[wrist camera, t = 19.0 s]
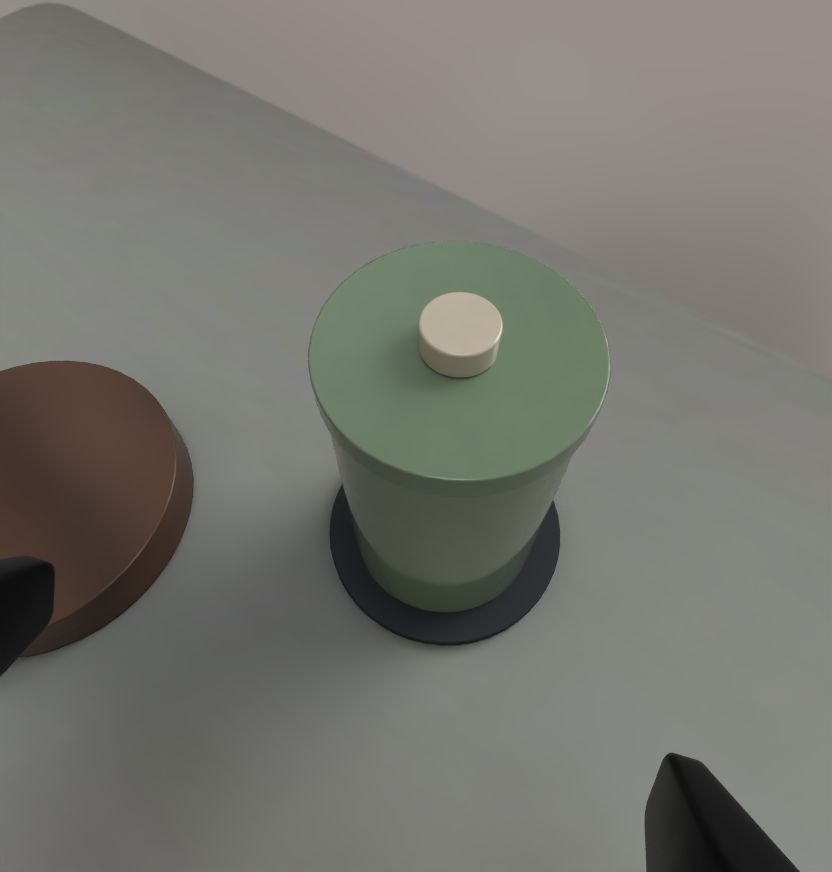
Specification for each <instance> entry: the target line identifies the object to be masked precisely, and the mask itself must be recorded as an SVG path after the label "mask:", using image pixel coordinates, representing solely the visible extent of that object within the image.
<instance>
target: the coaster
mask: <svg viewBox="0 0 832 872" xmlns="http://www.w3.org/2000/svg"><path fill="white" fill-rule="evenodd" d="M330 544H331V551H332V556H333V560H334V564H335V567H336V569H337V572H338V574H339V577H340V580H341V581H342V583H343V585H344V587H345V589H346V590H347V592H348V594H349V595H350V596H351V598H352V599H353V600H354V602H355V603H356V604H357V605H358V606H359V607H360V608H361V609H362V610H363V611H364V612H365V613H366V614H367V615H368V616H369V617H370V618H371V619H373V620H374V621H375V622H377V623H378V624H379V625H381V626H382V627H384V628H386V629H388V630H389V631H391V632H393V633H395V634H397V635H400V636H402V637H405V638H407V639H410V640H414V641H418V642H422V643H427V644H436V645H459V644H466V643H472V642H476V641H479V640H483V639H486V638H489V637H491V636H494V635H496V634H498V633H500V632H502V631H504V630H506V629H507V628H509V627H510V626H512V625H514V624H515V623H517V622H518V621H519V620H520V619H521V618H522V617H524V616H525V615H526V614H527V613H528V612H529V611H530V610H531V609H532V608H533V606H534V605H535V604H536V603H537V602H538V601H539V599H540V597H541V596H542V594H543V593H544V591H545V590H546V588H547V586H548V584H549V582H550V580H551V578H552V575H553V573H554V570H555V567H556V563H557V560H558V554H559V547H560V528H559V521H558V515H557V511H556V508H555V504H554V502H553V501H552V503H551V505H550V508H549V510H548V512H547V514H546V517H545V519H544V521H543V524H542V526H541V528H540V530H539V533H538V535H537V537H536V540H535V542H534V544H533V546H532V549H531V551H530V553H529V555H528V558H527V560H526V562H525V565H524V566H523V568H522V570H521V572H520V574H519V575H518V576H517V578H516V579H515V580H514V582H513V583H512V584H511V585H510V586H509V587H508V588H507V589H506V590H505V591H504V592H503V593H501V594H500V595H498V596H497V597H496V598H494V599H493V600H491V601H489V602H487V603H485V604H483V605H481V606H478V607H475V608H473V609H469V610H464V611H459V612H448V613H447V612H432V611H427V610H422V609H419V608H416V607H412V606H410V605H408V604H406V603H403V602H401V601H399V600H398V599H396V598H395V597H393V596H392V595H390V594H389V593H388V592H386V591H385V590H384V589H383V588H382V587H381V586H380V585H379V584H378V583H377V582H376V581H375V580H374V579H373V577H372V576H371V574H370V573H369V571H368V570H367V568H366V566H365V564H364V562H363V560H362V558H361V555H360V552H359V549H358V546H357V542H356V537H355V533H354V529H353V525H352V521H351V517H350V512H349V508H348V504H347V500H346V496H345V492H344V487H343V484H342V486H341V488H340V490H339V492H338V494H337V497H336V500H335V503H334V506H333V510H332V515H331V520H330Z"/></svg>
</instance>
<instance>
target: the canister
mask: <svg viewBox="0 0 832 872" xmlns="http://www.w3.org/2000/svg"><path fill="white" fill-rule="evenodd" d="M610 364H611V360H610V353H609V346H608V342H607V338H606V335H605V332H604V329H603V326H602V324H601V322H600V320H599V318H598V316H597V314H596V312H595V311H594V310H593V308H592V307H591V305H590V304H589V302H588V301H587V299H586V298H585V297H584V296H583V295H582V294H581V293H580V291H579V290H578V289H577V288H576V287H575V286H574V285H572V284H571V283H570V282H569V281H568V280H567V279H566V278H565V277H563V276H562V275H560V274H559V273H558V272H556V271H555V270H553V269H552V268H550V267H549V266H547V265H545V264H543V263H541V262H540V261H538V260H536V259H534V258H532V257H529V256H527V255H524V254H522V253H520V252H517V251H514V250H510V249H507V248H504V247H500V246H495V245H491V244H486V243H477V242H469V241H443V242H431V243H425V244H419V245H414V246H411V247H407V248H403V249H399V250H397V251H394V252H391V253H389V254H386V255H384V256H382V257H379V258H377V259H375V260H373V261H371V262H369V263H368V264H366V265H365V266H363V267H362V268H360V269H359V270H357V271H355V272H354V273H353V274H352V275H351V276H349V277H348V278H347V279H346V280H345V281H343V282H342V283H341V285H340V286H339V287H338V288H337V289H336V290H335V291H334V292H333V293H332V294H331V296H330V297H329V299H328V300H327V301H326V303H325V304H324V306H323V307H322V309H321V311H320V313H319V315H318V317H317V319H316V322H315V325H314V328H313V331H312V334H311V338H310V344H309V350H308V367H309V373H310V379H311V384H312V388H313V392H314V396H315V400H316V403H317V406H318V409H319V412H320V415H321V417H322V419H323V421H324V423H325V425H326V426H327V428H328V430H329V432H330V433H331V438H332V442H333V446H334V450H335V454H336V458H337V462H338V467H339V471H340V475H341V479H342V483H343V487H344V492H345V496H346V500H347V504H348V508H349V512H350V517H351V521H352V525H353V529H354V533H355V537H356V542H357V546H358V549H359V552H360V555H361V558H362V560H363V562H364V564H365V566H366V568H367V570H368V571H369V573H370V574H371V576H372V577H373V579H374V580H375V581H376V582H377V583H378V584H379V585H380V586H381V587H382V588H383V589H384V590H385V591H386V592H388V593H389V594H390V595H392V596H393V597H395V598H396V599H398V600H399V601H401V602H403V603H406V604H408V605H410V606H412V607H416V608H419V609H422V610H427V611H432V612H447V613H448V612H459V611H464V610H469V609H473V608H475V607H478V606H481V605H483V604H485V603H487V602H489V601H491V600H493V599H494V598H496V597H497V596H498V595H500V594H501V593H503V592H504V591H505V590H506V589H507V588H508V587H509V586H510V585H511V584H512V583H513V582H514V580H515V579H516V578H517V576H518V575H519V574H520V572H521V570H522V568H523V566H524V565H525V562H526V560H527V558H528V555H529V553H530V551H531V549H532V546H533V544H534V542H535V540H536V537H537V535H538V533H539V530H540V528H541V526H542V524H543V521H544V519H545V517H546V514H547V512H548V510H549V508H550V505H551V503H552V501H553V498H554V496H555V494H556V492H557V489H558V487H559V485H560V482H561V480H562V478H563V476H564V473H565V471H566V469H567V467H568V464H569V462H570V460H571V457H572V455H573V454H574V453H575V451H576V450H577V449H578V448H579V446H580V445H581V444H582V443H583V441H584V440H585V439H586V437H587V435H588V433H589V432H590V430H591V428H592V426H593V425H594V423H595V420H596V418H597V416H598V414H599V412H600V409H601V407H602V404H603V402H604V399H605V396H606V394H607V390H608V385H609V380H610Z"/></svg>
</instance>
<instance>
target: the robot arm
mask: <svg viewBox="0 0 832 872" xmlns="http://www.w3.org/2000/svg"><path fill="white" fill-rule="evenodd" d="M54 594H55V568H54V566H53V565H52V564H51V563H50V562H48V561H45V560H41V559H38V558H35V557H31V556H18V557H12V558H5V559H0V677H1V676H2V674H3V673H4V672H5V671H6V670H7V669H8V668H9V667H10V666H11V665H12V664H13V663H14V662H15V660H16V659H17V658H18V657H19V656H20V655H21V654H22V653H23V652H24V651H25V650H26V649H27V648H28V647H29V645H30V644H31V643H32V642H33V641H34V640H35V639H36V638H37V637H38V636H39V635H40V634H41V633H42V632H43V630H44V629H45V628H46V627H47V625H48V624H49V622H50V620H51V618H52V615H53V611H54ZM645 844H646V871H647V872H800V871H799V870H798V869H797V868H796V867H795V866H794V865H793V863H792V862H791V861H790V860H789V859H788V858H787V857H786V856H785V855H784V853H783V852H782V851H781V850H780V849H779V848H778V847H777V846H776V844H775V843H774V842H773V841H772V840H771V839H770V838H769V837H768V836H767V834H766V833H765V832H764V831H763V830H762V829H761V828H760V827H759V825H758V824H757V823H756V822H755V821H754V820H753V819H752V818H751V816H750V815H749V814H748V813H747V812H746V811H745V810H744V809H743V808H742V806H741V805H740V804H739V803H738V802H737V801H736V800H735V799H734V797H733V796H732V795H731V794H730V793H729V792H728V791H727V790H726V789H725V787H724V786H723V785H722V784H721V783H720V782H719V781H718V780H717V778H716V777H715V776H714V775H713V774H712V773H711V772H710V771H709V770H708V768H707V767H706V766H705V765H704V764H703V763H702V762H700V761H698V760H695V759H692V758H689V757H685V756H682V755H679V754H675V753H669V754H667V755H666V756H665V757H664V759H663V761H662V763H661V766H660V769H659V771H658V774H657V777H656V779H655V782H654V785H653V787H652V790H651V793H650V795H649V798H648V801H647V805H646V810H645Z"/></svg>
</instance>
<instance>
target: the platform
mask: <svg viewBox="0 0 832 872" xmlns="http://www.w3.org/2000/svg"><path fill="white" fill-rule="evenodd" d="M192 497H193V474H192V465H191V461H190V457H189V454H188V450H187V448H186V446H185V444H184V441H183V439H182V437H181V435H180V434H179V432H178V431H177V429H176V428H175V426H174V425H173V423H172V421H171V420H170V418H169V417H168V415H167V414H166V412H165V411H164V409H163V408H162V406H161V405H160V404H159V402H158V401H157V399H156V398H155V397H154V396H153V395H152V394H151V393H150V392H149V391H148V390H147V389H146V388H145V387H143V386H142V385H141V384H139V383H138V382H137V381H135V380H134V379H132V378H130V377H128V376H126V375H124V374H122V373H121V372H119V371H116V370H113V369H110V368H107V367H104V366H101V365H96V364H91V363H87V362H76V361H48V362H39V363H31V364H27V365H22V366H17V367H13V368H10V369H6V370H3V371H0V559H5V558H12V557H18V556H31V557H35V558H38V559H41V560H45V561H48V562H50V563H51V564H52V565H53V566H54V568H55V594H54V611H53V615H52V618H51V620H50V622H49V624H48V625H47V627H46V628H45V629H44V630H43V632H42V633H41V634H40V635H39V636H38V637H37V638H36V639H35V640H34V641H33V642H32V643H31V644H30V645H29V647H28V648H27V649H26V650H25V651H24V652H23V653H22V654H21V655H20V656H19V657H25V656H32V655H36V654H40V653H43V652H47V651H50V650H54V649H57V648H59V647H62V646H64V645H67V644H69V643H72V642H74V641H77V640H79V639H81V638H83V637H84V636H86V635H88V634H90V633H92V632H94V631H96V630H98V629H99V628H101V627H102V626H104V625H105V624H107V623H108V622H110V621H111V620H113V619H114V618H115V617H117V616H118V615H119V614H121V613H122V612H123V611H124V610H125V609H127V608H128V607H129V606H130V605H131V604H133V603H134V602H135V601H136V600H137V599H138V598H139V597H140V596H141V595H142V594H143V593H144V592H145V591H146V590H147V589H148V588H149V587H150V586H151V584H152V583H153V582H154V581H155V579H156V578H157V577H158V575H159V574H160V573H161V572H162V570H163V569H164V568H165V566H166V565H167V563H168V561H169V560H170V558H171V556H172V555H173V553H174V552H175V550H176V548H177V546H178V543H179V541H180V539H181V537H182V535H183V533H184V530H185V527H186V523H187V520H188V517H189V514H190V508H191V503H192ZM19 657H18V658H19Z"/></svg>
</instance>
